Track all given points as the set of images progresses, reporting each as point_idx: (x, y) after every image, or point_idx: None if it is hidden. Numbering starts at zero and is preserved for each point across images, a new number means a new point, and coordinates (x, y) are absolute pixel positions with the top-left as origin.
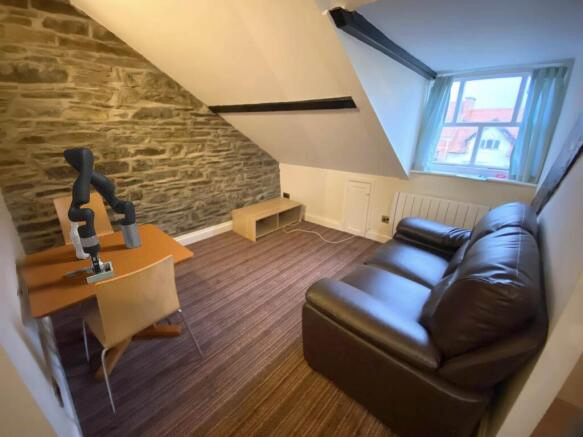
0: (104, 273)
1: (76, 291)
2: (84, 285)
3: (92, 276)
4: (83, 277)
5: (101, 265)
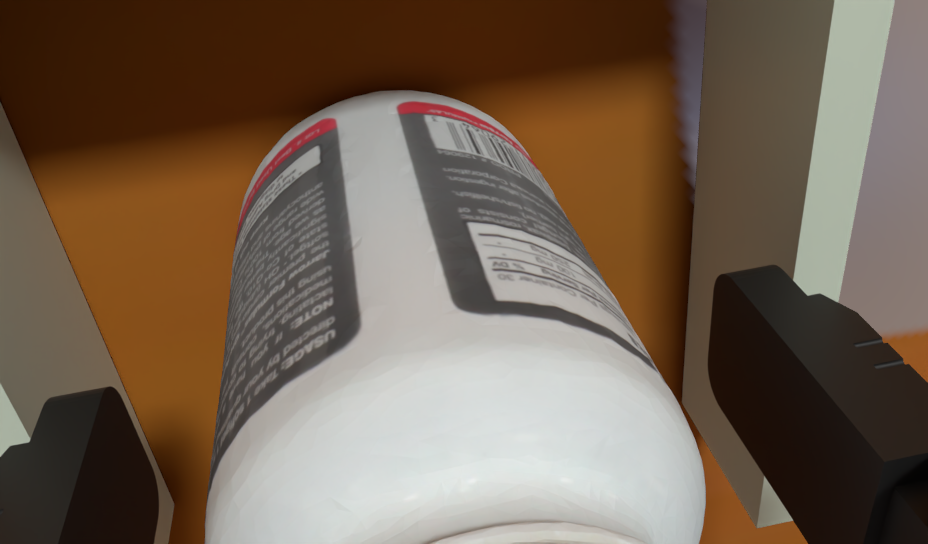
0: (856, 123)
1: None
2: None
3: None
4: None
5: (626, 347)
